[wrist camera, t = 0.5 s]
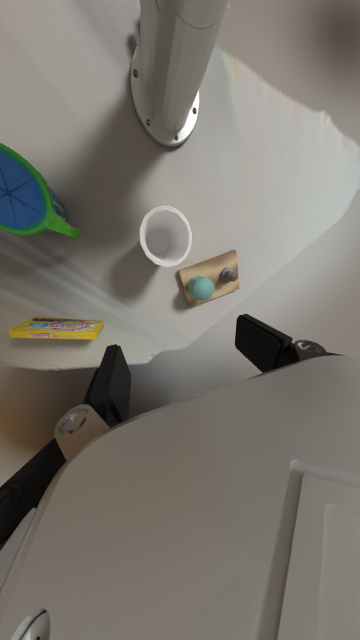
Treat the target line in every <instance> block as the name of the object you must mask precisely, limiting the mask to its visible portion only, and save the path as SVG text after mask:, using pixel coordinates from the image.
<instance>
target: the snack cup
mask: <svg viewBox="0 0 360 640" xmlns="http://www.w3.org/2000/svg"><path fill="white" fill-rule="evenodd" d="M0 229H2V230H5V231H7V232H11V233H15V234H16V235H19V236H28V235H35V234H39V233H42V232H53V231H56V232H59V233H62V234H64V235H67V236H69V237H72V238H73V239H74V240H76V239H77V238H78V235H79V233H80V231H81V228H80V227H79V228H74V227H72V226H71V225H70V224H68V223H67V222H66V213H65V209H64V207H63V205H62V202H61V201H60V199H59V198H58V197H57V196H56V195H55V194H54V192H53V191H52V190H51V189H50V188H49V187H48V186H47V184H46V181H45V180H44V178H43V177H42V176H41V174H40V173H39V172H37V171H36V170H35V168H34V167H33V166H32V165H31V164H30V163H29V162H27V161H26V160H25V159H24V158H23V157H21V156H20V155H19V154H18V153H16V152H15V151H13V150H12V149H10V148H9V147H7V146H5V145H3V144H1V143H0Z"/></svg>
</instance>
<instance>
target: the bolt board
mask: <svg viewBox="0 0 360 640" xmlns="http://www.w3.org/2000/svg"><path fill="white" fill-rule="evenodd" d="M178 272H179V275H180V279H181V282H182V286H183V289H184V293H185V296H186V299H187V303H188V306H189V308H192V307H194V306H197V305H199V304H202V303H204V302H207V301H209V300H212V299H214V298H217V297H220V296H222V295H225V294H227V293H230V292H232V291H235V290H237V289H239V278H238V266H237V254H236V250H233V251H230V252H227V253H224V254H222V255H219V256H216V257H213V258H211V259H208V260H205V261H202V262H200V263H197V264H194V265H191V266H189V267H186V268H183V269H181V270H178ZM196 276H201V277H204V278H207V279H210V280H211V281H212V282H213V284H214V292H213V294H212V296H211V297H210V298H209V299H207V300H205V301H199V300H197V299H196V298H195V297H194V296H192V295H191V294H190V293H189V290H188V284H189V282H190V280H191V278H193V277H196Z"/></svg>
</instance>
